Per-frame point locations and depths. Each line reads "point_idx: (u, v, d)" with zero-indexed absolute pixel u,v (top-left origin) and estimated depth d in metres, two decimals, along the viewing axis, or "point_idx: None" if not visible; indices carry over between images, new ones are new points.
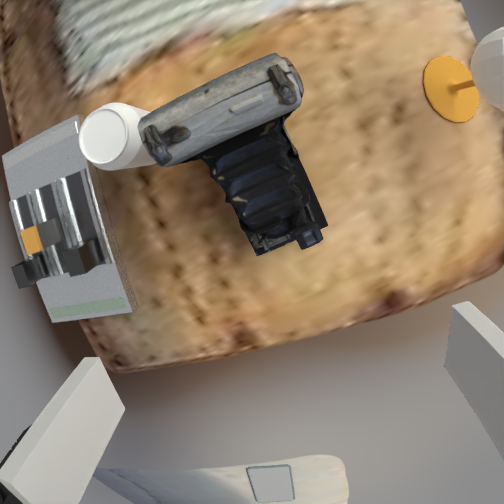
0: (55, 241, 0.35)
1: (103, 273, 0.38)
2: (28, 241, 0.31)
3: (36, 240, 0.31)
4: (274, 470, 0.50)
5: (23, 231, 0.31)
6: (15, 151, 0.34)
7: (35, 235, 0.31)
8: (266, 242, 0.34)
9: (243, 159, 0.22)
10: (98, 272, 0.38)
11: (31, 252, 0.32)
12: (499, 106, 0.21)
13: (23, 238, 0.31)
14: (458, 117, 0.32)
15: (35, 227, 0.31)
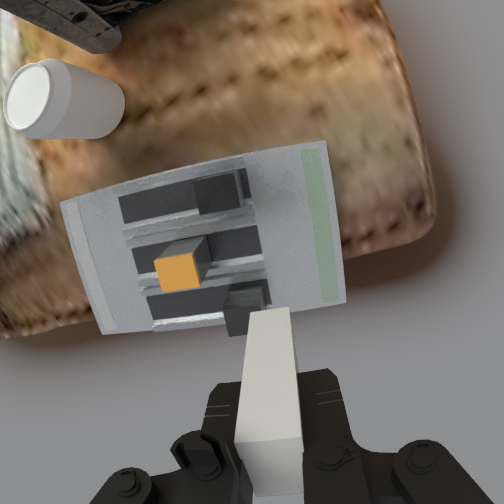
0: (198, 242, 0.26)
1: (262, 177, 0.27)
2: (177, 277, 0.23)
3: (175, 259, 0.23)
4: None
5: (162, 284, 0.24)
6: (95, 308, 0.31)
7: (167, 259, 0.23)
8: None
9: None
10: (259, 185, 0.27)
11: (194, 275, 0.23)
12: None
13: (173, 287, 0.24)
14: None
15: (158, 259, 0.23)
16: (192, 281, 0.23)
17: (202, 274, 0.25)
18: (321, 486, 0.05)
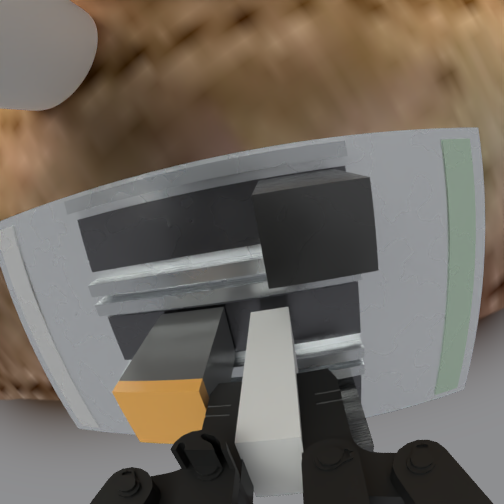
0: (210, 333, 0.12)
1: (375, 187, 0.12)
2: (168, 425, 0.09)
3: (159, 394, 0.09)
4: None
5: (137, 431, 0.09)
6: (63, 396, 0.17)
7: (142, 392, 0.09)
8: None
9: None
10: None
11: None
12: None
13: (161, 438, 0.09)
14: None
15: (122, 384, 0.09)
16: None
17: None
18: (320, 486, 0.05)
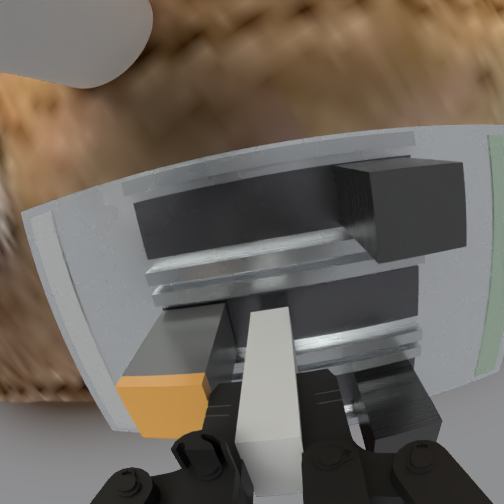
0: (212, 328, 0.12)
1: None
2: (170, 420, 0.09)
3: (162, 389, 0.09)
4: None
5: (140, 426, 0.10)
6: (98, 397, 0.17)
7: (145, 387, 0.09)
8: None
9: None
10: None
11: None
12: None
13: (163, 434, 0.10)
14: None
15: (125, 379, 0.09)
16: None
17: None
18: (320, 486, 0.05)
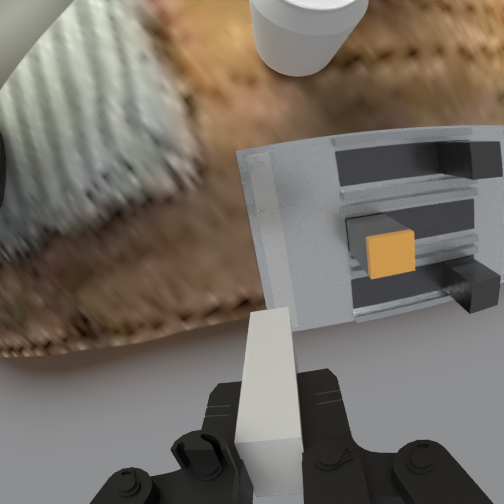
0: (391, 220, 0.21)
1: None
2: (393, 259, 0.18)
3: (394, 236, 0.18)
4: None
5: (373, 269, 0.18)
6: (272, 301, 0.26)
7: (385, 237, 0.18)
8: None
9: None
10: None
11: (412, 257, 0.18)
12: None
13: (385, 272, 0.18)
14: None
15: (370, 237, 0.18)
16: (408, 264, 0.18)
17: None
18: (321, 486, 0.05)
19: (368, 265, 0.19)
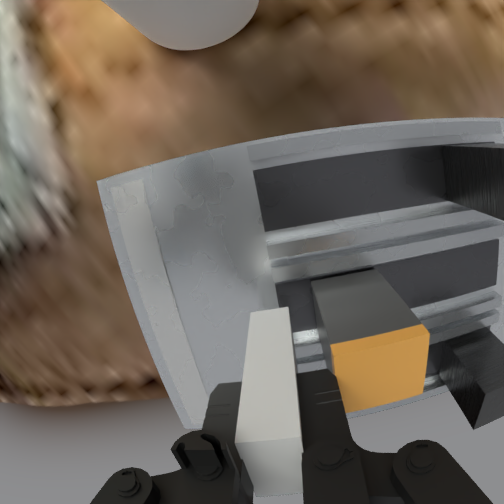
0: (388, 289, 0.12)
1: None
2: (382, 384, 0.09)
3: (389, 346, 0.08)
4: None
5: None
6: (176, 392, 0.17)
7: (370, 348, 0.09)
8: None
9: None
10: None
11: (421, 375, 0.09)
12: None
13: (365, 403, 0.09)
14: None
15: (339, 346, 0.09)
16: (412, 386, 0.09)
17: None
18: (320, 486, 0.05)
19: None
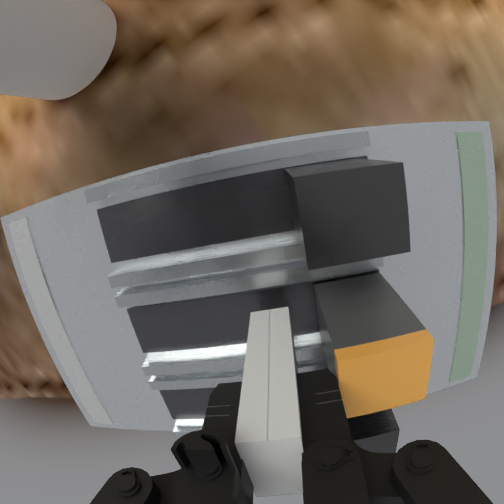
0: (391, 294, 0.11)
1: None
2: (385, 389, 0.09)
3: (393, 352, 0.08)
4: None
5: (344, 406, 0.09)
6: (75, 393, 0.17)
7: (374, 354, 0.08)
8: None
9: None
10: None
11: (424, 380, 0.09)
12: None
13: (368, 408, 0.09)
14: None
15: (342, 351, 0.09)
16: (415, 391, 0.09)
17: None
18: (320, 486, 0.05)
19: None
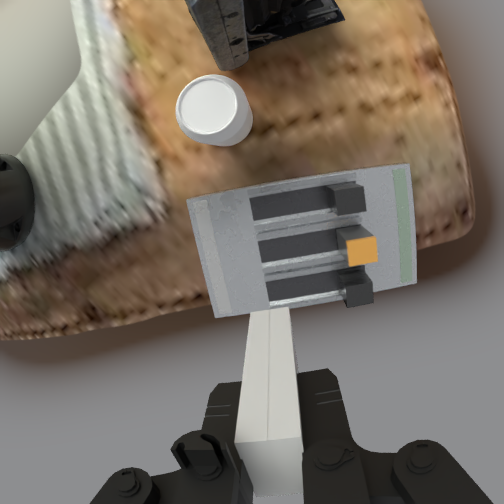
0: (364, 229, 0.33)
1: (366, 188, 0.34)
2: (363, 254, 0.31)
3: (363, 240, 0.30)
4: None
5: (350, 260, 0.31)
6: (213, 294, 0.39)
7: (357, 241, 0.30)
8: (331, 9, 0.27)
9: None
10: (364, 194, 0.35)
11: (375, 253, 0.30)
12: None
13: (358, 262, 0.31)
14: None
15: (348, 240, 0.31)
16: (373, 257, 0.31)
17: None
18: (321, 486, 0.05)
19: (348, 258, 0.31)
